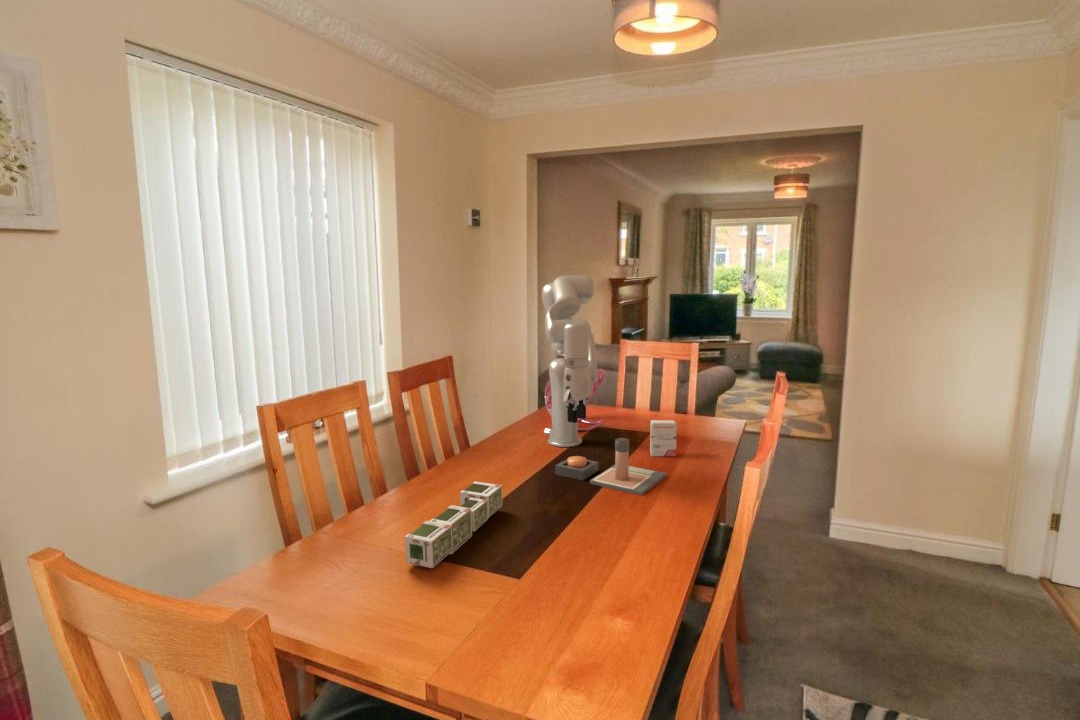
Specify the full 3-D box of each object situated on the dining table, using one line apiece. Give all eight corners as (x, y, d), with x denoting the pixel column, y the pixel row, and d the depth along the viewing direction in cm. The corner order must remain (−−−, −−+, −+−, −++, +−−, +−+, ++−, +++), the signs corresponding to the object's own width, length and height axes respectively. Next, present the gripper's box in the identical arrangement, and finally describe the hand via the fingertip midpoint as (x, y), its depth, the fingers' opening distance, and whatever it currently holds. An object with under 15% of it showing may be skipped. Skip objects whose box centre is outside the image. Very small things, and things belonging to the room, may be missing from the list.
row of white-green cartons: (475, 506, 164) (474, 480, 162) (503, 510, 160) (502, 484, 159) (400, 566, 132) (398, 535, 130) (432, 573, 129) (431, 541, 127)
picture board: (589, 483, 179) (589, 479, 179) (616, 466, 194) (616, 462, 193) (641, 495, 169) (641, 491, 169) (666, 476, 184) (666, 472, 184)
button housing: (555, 474, 187) (555, 465, 186) (571, 465, 195) (571, 456, 195) (582, 480, 181) (582, 471, 181) (598, 470, 190) (598, 461, 189)
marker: (612, 478, 179) (612, 440, 177) (618, 474, 183) (618, 437, 181) (625, 481, 177) (625, 442, 175) (631, 477, 180) (631, 439, 178)
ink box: (674, 452, 207) (675, 419, 205) (676, 457, 202) (677, 423, 200) (649, 452, 207) (650, 419, 205) (650, 456, 203) (651, 423, 201)
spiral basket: (637, 378, 237) (583, 338, 244) (607, 409, 216) (549, 364, 222) (606, 423, 254) (556, 385, 260) (575, 456, 233) (522, 413, 239)
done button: (563, 467, 187) (563, 460, 187) (573, 462, 192) (573, 454, 192) (580, 471, 184) (580, 463, 183) (589, 465, 189) (589, 458, 188)
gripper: (572, 368, 173) (573, 428, 176) (600, 359, 187) (600, 415, 190) (551, 365, 178) (552, 424, 181) (580, 357, 191) (580, 412, 194)
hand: (576, 419), depth 185 cm, fingers open, 4 cm apart
